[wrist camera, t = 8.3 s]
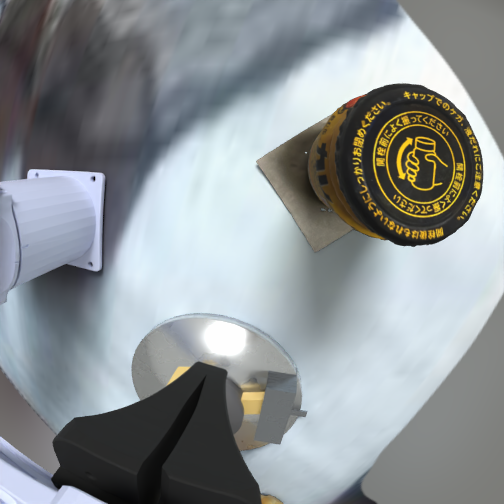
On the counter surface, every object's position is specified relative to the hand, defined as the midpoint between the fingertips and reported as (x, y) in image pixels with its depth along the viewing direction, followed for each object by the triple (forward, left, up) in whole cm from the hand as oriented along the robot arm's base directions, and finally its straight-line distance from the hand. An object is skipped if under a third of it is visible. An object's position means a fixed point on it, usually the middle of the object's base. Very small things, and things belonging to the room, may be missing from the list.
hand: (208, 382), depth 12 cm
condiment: (+5, +9, -11) cm, 15 cm away
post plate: (-2, -10, -10) cm, 14 cm away
